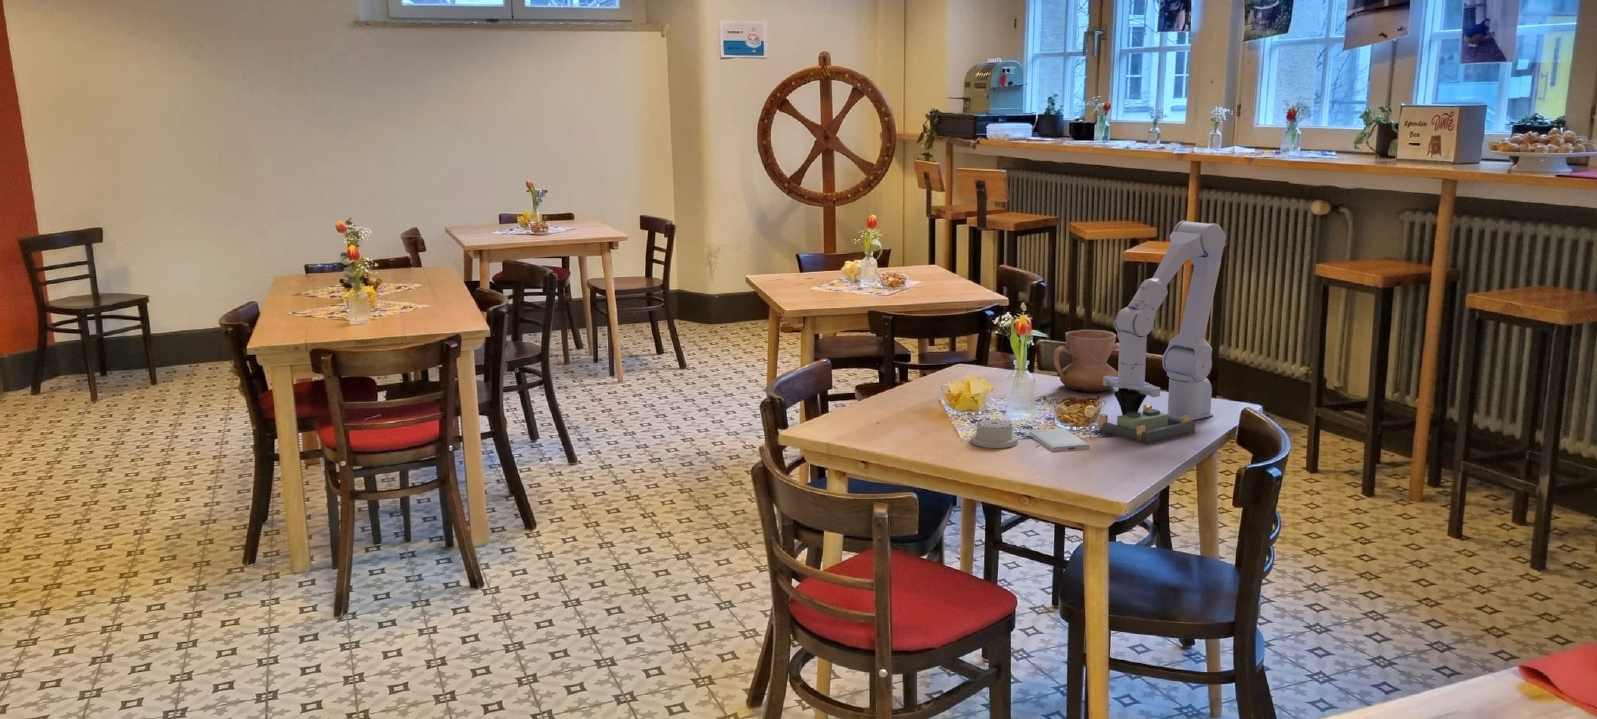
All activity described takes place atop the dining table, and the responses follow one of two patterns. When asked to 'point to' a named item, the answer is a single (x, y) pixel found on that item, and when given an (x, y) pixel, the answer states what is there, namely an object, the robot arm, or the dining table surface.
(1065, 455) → the dining table surface
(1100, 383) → the ceramic jug
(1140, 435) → the tray
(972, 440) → the gray cake
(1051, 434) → the hard drive
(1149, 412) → the green block
